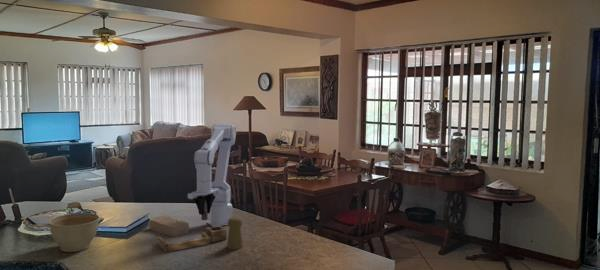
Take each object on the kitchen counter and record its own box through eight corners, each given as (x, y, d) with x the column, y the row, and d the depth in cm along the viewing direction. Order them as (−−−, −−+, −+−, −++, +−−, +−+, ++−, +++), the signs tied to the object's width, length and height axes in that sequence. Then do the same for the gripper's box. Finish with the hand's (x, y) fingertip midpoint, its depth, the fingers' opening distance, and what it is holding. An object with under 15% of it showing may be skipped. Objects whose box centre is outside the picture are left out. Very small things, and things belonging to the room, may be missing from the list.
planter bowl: (49, 259, 147) (47, 227, 146) (51, 244, 161) (50, 215, 160) (101, 251, 154) (100, 222, 153) (98, 238, 168) (98, 210, 167)
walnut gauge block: (220, 235, 174) (220, 225, 173) (226, 239, 169) (226, 229, 168) (206, 237, 170) (206, 227, 170) (211, 242, 165) (211, 232, 165)
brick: (190, 232, 178) (190, 221, 177) (173, 237, 171) (173, 226, 170) (164, 225, 187) (164, 214, 187) (148, 230, 180) (147, 218, 180)
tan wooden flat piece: (200, 235, 173) (200, 229, 172) (210, 243, 164) (210, 237, 163) (157, 243, 163) (157, 236, 163) (166, 252, 154) (166, 245, 154)
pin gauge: (206, 218, 174) (206, 198, 173) (208, 219, 172) (208, 199, 171) (200, 218, 173) (200, 199, 172) (202, 220, 171) (202, 200, 170)
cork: (246, 245, 163) (246, 216, 162) (238, 250, 157) (238, 220, 156) (231, 243, 165) (231, 214, 164) (223, 248, 159) (223, 219, 158)
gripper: (212, 176, 179) (212, 208, 180) (182, 181, 168) (183, 215, 169) (223, 178, 175) (223, 211, 176) (194, 183, 163) (194, 218, 165)
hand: (204, 213), depth 172 cm, fingers closed on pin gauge, 2 cm apart
